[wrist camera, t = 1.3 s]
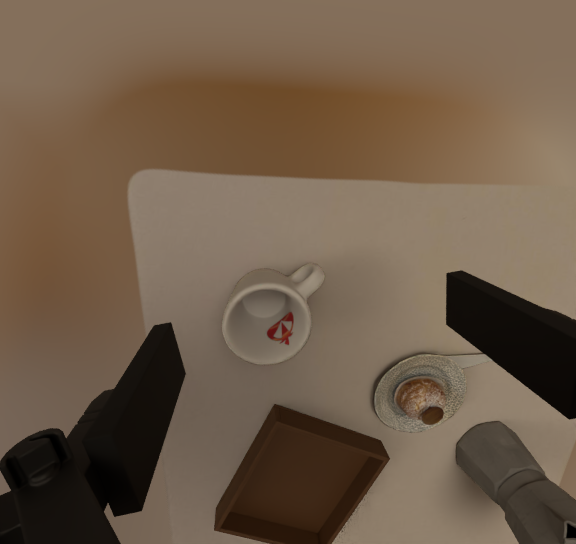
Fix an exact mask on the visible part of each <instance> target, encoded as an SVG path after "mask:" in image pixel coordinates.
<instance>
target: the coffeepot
mask: <svg viewBox="0 0 576 544" xmlns="http://www.w3.org/2000/svg"><path fill="white" fill-rule="evenodd" d="M456 457H457V464H458V465H459V466H460V467H461V468H462V469H463V470H464V471H465V472H466V473H467V474H468V475H469V476H470V477H471V478H472V479H473V481H474V482H475V483H476V484H477V485H478V486H479V487H480V488H481V489H482V490H483V491H484V492H485V493H486V494H487V495H488V496H489V497H490V498H491V499H492V500H493V501H494V502H496V503H497V504H498V505H500V507H501V508H502V509H503V511H504V512H505V519H506V521H507V523H508V525H509V527H510V528H511V530H512V532H513V534H514V535H515V537H516V539H517V541H518V542H519V544H576V500H575V499H574V498H572V497H571V496H570V495H569V494H567V493H566V492H565V491H564V490H562V489H561V488H560V487H559V486H557V485H556V484H555V483H553V482H552V481H550V480H549V479H548V478H547V477H546V476H545V472H544V471H543V470H542V468H541V467H540V465H539V464H538V463H537V461H536V460H535V459H534V457H533V456H532V455H531V453H530V452H529V451H528V449H527V448H526V447H525V445H524V444H523V443H522V441H521V440H520V439H519V437H518V436H517V435H516V433H515V432H513V431H512V430H511V429H509V428H508V427H507V426H506V425H504V424H502V423H501V422H486V423H482V424H480V425H477V426H475V427H473V428H472V429H470V430H469V431H468V432H467V433H465V434H464V436H463V437H462V438H461V440H460V441H459V443H458V445H457V449H456Z"/></svg>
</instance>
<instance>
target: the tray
mask: <svg viewBox="0 0 576 544" xmlns="http://www.w3.org/2000/svg"><path fill="white" fill-rule="evenodd" d="M389 460H390V458H389V456H388V454H387V452H386V450H385V448H384V446H383V444H382V442H381V440H378V439H375V438H372V437H369V436H366V435H363V434H360V433H357V432H355V431H352V430H349V429H346V428H343V427H340V426H337V425H334V424H331V423H328V422H325V421H323V420H320V419H317V418H314V417H311V416H308V415H305V414H302V413H299V412H296V411H293V410H291V409H288V408H285V407H282V406H279V405H276V404H274V406H273V408H272V410H271V411H270V413H269V415H268V417H267V418H266V420H265V422H264V424H263V425H262V427H261V429H260V431H259V433H258V434H257V436H256V438H255V440H254V441H253V443H252V445H251V447H250V449H249V450H248V452H247V454H246V456H245V457H244V459H243V461H242V463H241V465H240V466H239V468H238V470H237V472H236V473H235V475H234V477H233V479H232V481H231V482H230V484H229V486H228V488H227V489H226V491H225V493H224V495H223V497H222V498H221V500H220V502H219V504H218V505H217V507H216V515H215V525H214V531H219V532H223V533H227V534H231V535H236V536H240V537H244V538H249V539H253V540H257V541H261V542H266V543H270V544H331V543H332V542H333V541H334V539H335V538H336V536H337V535H338V533H339V532H340V530H341V529H342V528H343V526H344V525H345V523H346V522H347V520H348V519H349V517H350V516H351V515H352V513H353V512H354V510H355V509H356V507H357V506H358V504H359V503H360V502H361V500H362V499H363V497H364V496H365V494H366V493H367V491H368V490H369V489H370V487H371V486H372V484H373V483H374V481H375V480H376V478H377V477H378V476H379V474H380V473H381V471H382V470H383V468H384V467H385V465H386V464H387V463H388V461H389Z"/></svg>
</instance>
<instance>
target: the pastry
mask: <svg viewBox="0 0 576 544" xmlns="http://www.w3.org/2000/svg"><path fill="white" fill-rule="evenodd" d="M466 389H467V383H466V377H465V374H464V372H463V370H462V368H461V367H460V366H459V365H458V364H457V363H456V362H454V361H453V360H451V359H449V358H447V357H444V356H441V355H435V354H423V355H417V356H413V357H410V358H408V359H406V360H403V361H401V362H400V363H398V364H396V365H395V366H394V367H393V368H391V369H390V370H389V371H388V372H387V373H386V374H385V375H384V376H383V378H382V379H381V380H380V382H379V384H378V386H377V388H376V392H375V397H374V405H375V410H376V413H377V415H378V417H379V418H380V420H381V421H382V422H383V423H384V424H386V425H387V426H389V427H391V428H393V429H395V430H398V431H403V432H410V433H414V432H422V431H426V430H429V429H432V428H434V427H436V426H438V425H440V424H442V423H444V422H445V421H446V420H447V419H449V418H450V417H452V416H453V415H454V414H455V413H456V412H457V410H458V409H459V408H460V406H461V405H462V403H463V400H464V397H465V393H466Z"/></svg>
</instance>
